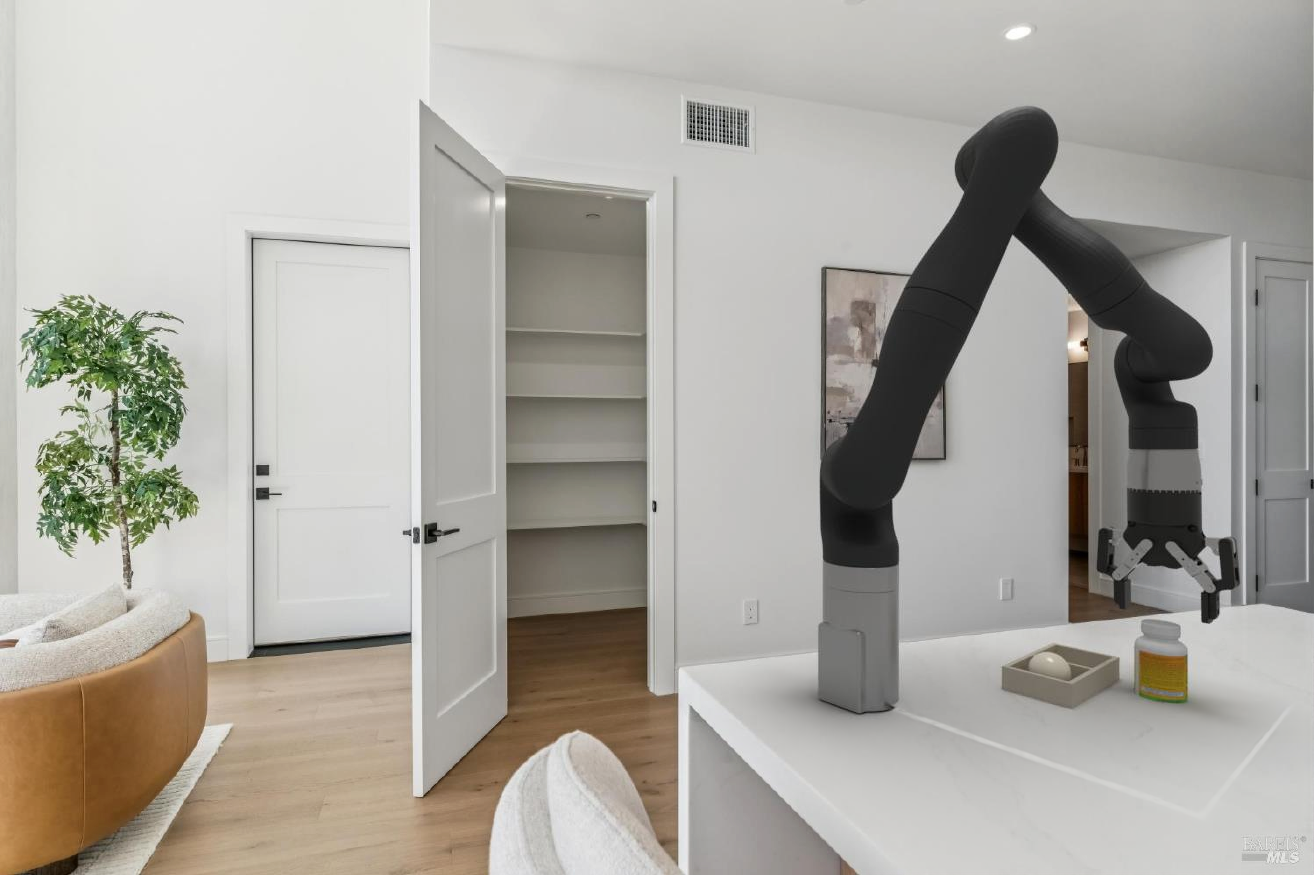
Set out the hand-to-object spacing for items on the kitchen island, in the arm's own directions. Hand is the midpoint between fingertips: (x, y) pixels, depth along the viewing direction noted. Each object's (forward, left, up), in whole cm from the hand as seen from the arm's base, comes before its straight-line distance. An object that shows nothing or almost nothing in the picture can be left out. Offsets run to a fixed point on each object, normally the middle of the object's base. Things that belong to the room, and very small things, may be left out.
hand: (1164, 615), depth 86 cm
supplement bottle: (-1, 0, -11) cm, 11 cm away
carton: (-6, +10, -11) cm, 15 cm away
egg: (-9, +10, -10) cm, 17 cm away
